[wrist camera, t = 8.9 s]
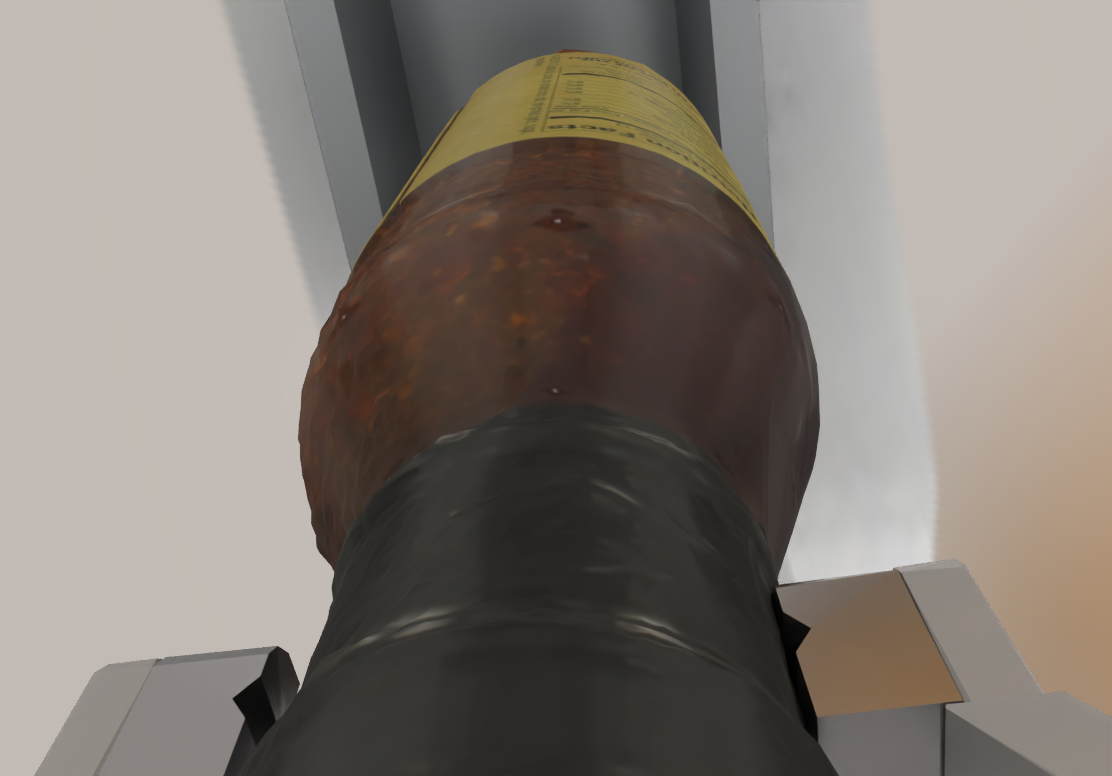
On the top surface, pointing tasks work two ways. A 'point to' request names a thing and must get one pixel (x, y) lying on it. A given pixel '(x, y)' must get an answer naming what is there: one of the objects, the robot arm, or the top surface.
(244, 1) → the top surface
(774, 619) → the sauce bottle
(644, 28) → the bin
